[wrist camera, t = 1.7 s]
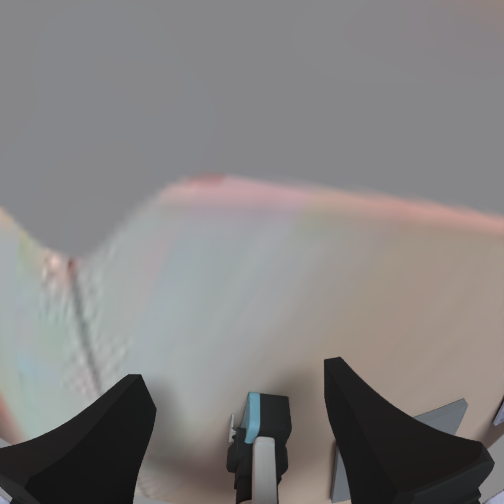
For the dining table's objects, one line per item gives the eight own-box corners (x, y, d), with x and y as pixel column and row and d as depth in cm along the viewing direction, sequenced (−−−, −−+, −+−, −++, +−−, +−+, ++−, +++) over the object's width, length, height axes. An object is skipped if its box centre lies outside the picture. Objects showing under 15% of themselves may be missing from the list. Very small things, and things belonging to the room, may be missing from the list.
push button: (284, 457, 16) (293, 584, 7) (205, 448, 16) (185, 578, 7) (315, 392, 15) (349, 560, 5) (217, 379, 14) (188, 560, 5)
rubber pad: (463, 398, 15) (468, 404, 15) (431, 466, 18) (434, 472, 17) (337, 437, 16) (339, 446, 15) (330, 496, 19) (331, 503, 18)
